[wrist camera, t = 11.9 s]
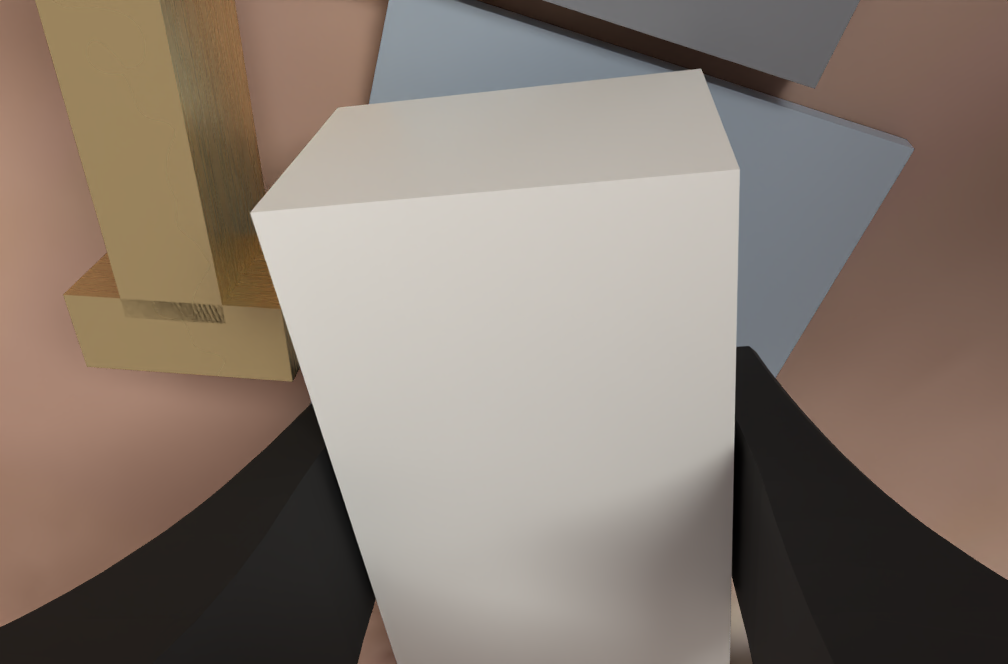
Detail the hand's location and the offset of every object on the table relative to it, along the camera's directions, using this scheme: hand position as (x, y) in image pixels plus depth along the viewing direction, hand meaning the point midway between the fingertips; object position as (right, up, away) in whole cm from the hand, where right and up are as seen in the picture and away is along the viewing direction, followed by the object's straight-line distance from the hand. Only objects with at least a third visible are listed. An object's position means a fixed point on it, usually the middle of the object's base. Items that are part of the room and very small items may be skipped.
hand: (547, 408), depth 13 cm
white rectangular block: (0, +1, +1) cm, 1 cm away
